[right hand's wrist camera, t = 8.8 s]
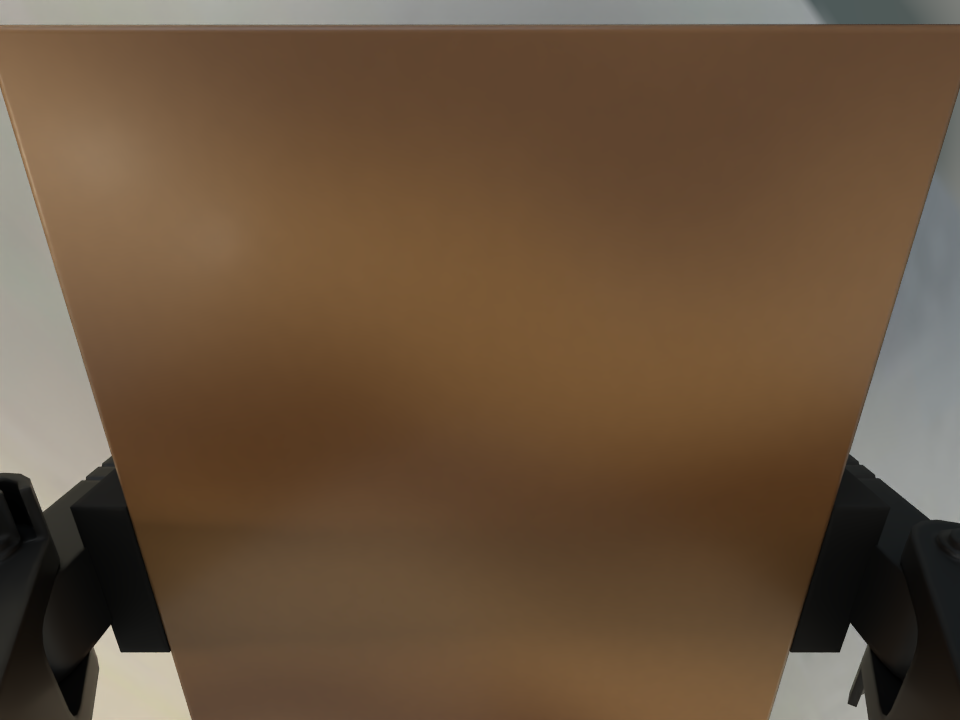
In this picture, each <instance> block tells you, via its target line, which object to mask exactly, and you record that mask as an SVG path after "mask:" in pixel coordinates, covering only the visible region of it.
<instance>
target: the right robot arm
mask: <svg viewBox="0 0 960 720" xmlns="http://www.w3.org/2000/svg"><path fill="white" fill-rule="evenodd" d="M850 623H851V624H852V625H853V627H854V628H855V629H856V630H857V632H858V633H859V634H860V635H861V637H862V638H863V639H864V640H865V642H866V643H867V644H868V645H867V648H866V650H865V653H864V656H863V658H862V661H861V664H860V666H859V669H858V671H857V674H856V677H855V679H854V682H853V685H852V687H851V690H850V693H849V699H848V704H850V705H852V706H855V707H857V704H858V702H859V699H860V696H861V695H862V694H864V693H865V699H866V706H867V713H868V719H869V720H960V523H954V522H948V521H942V520H930V519H929V518H927V517H926V516H925V515H924V514H922V513H921V512H920V511H919V510H918V509H916V508H915V507H914V506H913V505H911V504H910V503H909V502H908V501H906V500H905V499H904V498H903V497H902V496H900V495H899V494H898V493H897V492H895V491H894V490H893V489H892V488H890V487H889V486H888V485H887V484H886V483H884V482H883V481H882V480H881V479H879V478H875V475H874V474H873V473H872V472H871V471H870V470H868V469H867V468H866V467H865V466H863V465H859V462H858V461H857V460H856V459H855V458H854V457H852V456H851V455H850V454H849V456H848V459H847V463H846V466H845V469H844V473H843V476H842V479H841V482H840V486H839V489H838V492H837V496H836V499H835V502H834V506H833V509H832V512H831V516H830V519H829V522H828V525H827V529H826V532H825V535H824V539H823V542H822V545H821V549H820V552H819V555H818V559H817V562H816V565H815V569H814V572H813V575H812V578H811V582H810V585H809V588H808V592H807V595H806V598H805V602H804V605H803V608H802V612H801V615H800V618H799V621H798V625H797V628H796V631H795V635H794V638H793V641H792V645H791V648H790V652H840V650H841V647H842V644H843V641H844V639H845V636H846V633H847V630H848V627H849V624H850ZM110 625H111V626H112V629H113V631H114V634H115V637H116V640H117V643H118V646H119V648H120V651H121V652H170V651H171V649H170V646H169V643H168V639H167V636H166V633H165V629H164V626H163V623H162V619H161V616H160V613H159V610H158V606H157V603H156V600H155V596H154V593H153V590H152V586H151V583H150V580H149V577H148V573H147V570H146V567H145V563H144V560H143V557H142V553H141V550H140V547H139V543H138V540H137V537H136V534H135V530H134V527H133V524H132V520H131V517H130V514H129V510H128V507H127V504H126V501H125V497H124V494H123V491H122V487H121V484H120V481H119V477H118V474H117V471H116V468H115V464H114V461H113V458H112V456H111V457H110V458H109V459H107V460H106V461H105V462H104V463H102V467H98V468H96V469H95V470H94V471H93V472H91V473H90V474H89V475H88V476H87V477H86V480H82V481H81V482H79V483H78V484H77V485H76V486H74V487H73V488H72V489H71V490H70V491H68V492H67V493H66V494H65V495H63V496H62V497H61V498H60V499H59V500H57V501H56V502H55V503H54V504H52V505H51V506H50V507H49V508H48V509H46V510H45V511H44V512H42V510H41V507H40V504H39V502H38V499H37V496H36V494H35V491H34V488H33V486H32V483H31V480H30V479H29V478H28V477H26V476H24V475H22V474H15V473H0V720H92V715H93V708H94V701H95V694H96V687H97V680H98V673H99V665H98V659H97V656H96V653H95V650H94V648H93V647H94V645H95V644H96V643H97V641H98V640H99V639H100V638H101V636H102V635H103V634H104V633H105V631H106V630H107V629H108V627H109V626H110Z"/></svg>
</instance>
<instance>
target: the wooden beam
mask: <svg viewBox="0 0 960 720" xmlns="http://www.w3.org/2000/svg"><path fill="white" fill-rule="evenodd" d="M0 88H1V91H2V94H3V98H4V101H5V104H6V107H7V111H8V114H9V117H10V121H11V124H12V127H13V131H14V134H15V137H16V141H17V144H18V147H19V150H20V154H21V157H22V160H23V164H24V167H25V170H26V174H27V177H28V180H29V183H30V187H31V190H32V193H33V197H34V200H35V203H36V207H37V210H38V213H39V216H40V220H41V223H42V226H43V230H44V233H45V236H46V240H47V243H48V246H49V250H50V253H51V256H52V259H53V263H54V266H55V269H56V273H57V276H58V279H59V283H60V286H61V289H62V292H63V296H64V299H65V302H66V306H67V309H68V312H69V316H70V319H71V322H72V325H73V329H74V332H75V335H76V339H77V342H78V345H79V349H80V352H81V355H82V359H83V362H84V365H85V368H86V372H87V375H88V378H89V382H90V385H91V388H92V392H93V395H94V398H95V401H96V405H97V408H98V411H99V415H100V418H101V421H102V425H103V428H104V431H105V434H106V438H107V441H108V444H109V448H110V451H111V454H112V458H113V461H114V464H115V468H116V471H117V474H118V477H119V481H120V484H121V487H122V491H123V494H124V497H125V501H126V504H127V507H128V510H129V514H130V517H131V520H132V524H133V527H134V530H135V534H136V537H137V540H138V543H139V547H140V550H141V553H142V557H143V560H144V563H145V567H146V570H147V573H148V577H149V580H150V583H151V586H152V590H153V593H154V596H155V600H156V603H157V606H158V610H159V613H160V616H161V619H162V623H163V626H164V629H165V633H166V636H167V639H168V643H169V646H170V649H171V652H172V656H173V659H174V662H175V666H176V669H177V672H178V676H179V679H180V682H181V686H182V689H183V692H184V695H185V699H186V702H187V705H188V709H189V712H190V715H191V719H192V720H769V717H770V714H771V711H772V707H773V704H774V701H775V698H776V694H777V691H778V688H779V684H780V681H781V678H782V674H783V671H784V668H785V664H786V661H787V658H788V655H789V651H790V648H791V645H792V641H793V638H794V635H795V631H796V628H797V625H798V621H799V618H800V615H801V612H802V608H803V605H804V602H805V598H806V595H807V592H808V588H809V585H810V582H811V578H812V575H813V572H814V569H815V565H816V562H817V559H818V555H819V552H820V549H821V545H822V542H823V539H824V535H825V532H826V529H827V525H828V522H829V519H830V516H831V512H832V509H833V506H834V502H835V499H836V496H837V492H838V489H839V486H840V482H841V479H842V476H843V473H844V469H845V466H846V463H847V459H848V456H849V453H850V449H851V446H852V443H853V439H854V436H855V433H856V430H857V426H858V423H859V420H860V416H861V413H862V410H863V406H864V403H865V400H866V396H867V393H868V390H869V387H870V383H871V380H872V377H873V373H874V370H875V367H876V363H877V360H878V357H879V353H880V350H881V347H882V343H883V340H884V337H885V334H886V330H887V327H888V324H889V320H890V317H891V314H892V310H893V307H894V304H895V300H896V297H897V294H898V291H899V287H900V284H901V281H902V277H903V274H904V271H905V267H906V264H907V261H908V257H909V254H910V251H911V248H912V244H913V241H914V238H915V234H916V231H917V228H918V224H919V221H920V218H921V214H922V211H923V208H924V204H925V201H926V198H927V195H928V191H929V188H930V185H931V181H932V178H933V175H934V171H935V168H936V165H937V161H938V158H939V155H940V151H941V148H942V145H943V142H944V138H945V135H946V132H947V128H948V125H949V122H950V118H951V115H952V112H953V108H954V105H955V102H956V99H957V95H958V92H959V89H960V24H679V25H0Z"/></svg>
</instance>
